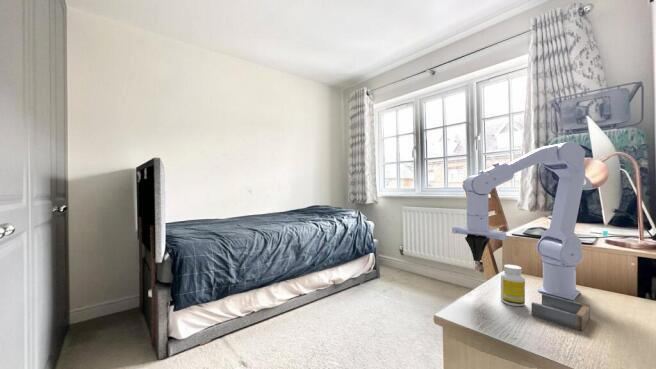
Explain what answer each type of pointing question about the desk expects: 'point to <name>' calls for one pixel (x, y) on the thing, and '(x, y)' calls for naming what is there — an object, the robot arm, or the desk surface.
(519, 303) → the supplement bottle
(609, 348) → the desk surface
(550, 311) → the bracket
